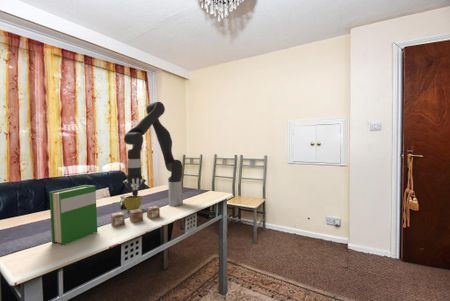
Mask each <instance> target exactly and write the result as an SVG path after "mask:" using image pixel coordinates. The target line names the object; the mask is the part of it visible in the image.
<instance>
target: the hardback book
mask: <svg viewBox="0 0 450 301" xmlns="http://www.w3.org/2000/svg"><path fill="white" fill-rule="evenodd" d="M96 187H97V186H96V185H93V184H92V185H89V184H83V185H79V186H73V187H70V188H69V187H67V188H64V189H63V188H62V189H59V190H53V191H49V194H48V195H49V208H50V210H49V211H50V212H49V213H50V228H51V244H52V243H54V244H57V243H58V244H61V245H64V246H66V245H68V244H70V242H71V243H73V242H75V240H76V241H78V240H81V239H83V238H85V237H88V236H89V235H92V234H95V233H97V232H98V220H97V219H98V218H97V217H98V214H97V213H98V212H97V191H96ZM94 232H95V233H94ZM82 237H83V238H82ZM77 239H78V240H77ZM72 241H73V242H72ZM56 242H57V243H56ZM67 243H68V244H67ZM65 244H66V245H65Z"/></svg>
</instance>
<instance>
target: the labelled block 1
mask: <svg viewBox="0 0 450 301" xmlns="http://www.w3.org/2000/svg"><path fill="white" fill-rule="evenodd" d="M125 219H126V218H125V213H124V212H123V211H119V212H113V213H110V224H111V226H112V228H115V227H122V226H125V225H126V222H125V221H126V220H125Z"/></svg>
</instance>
